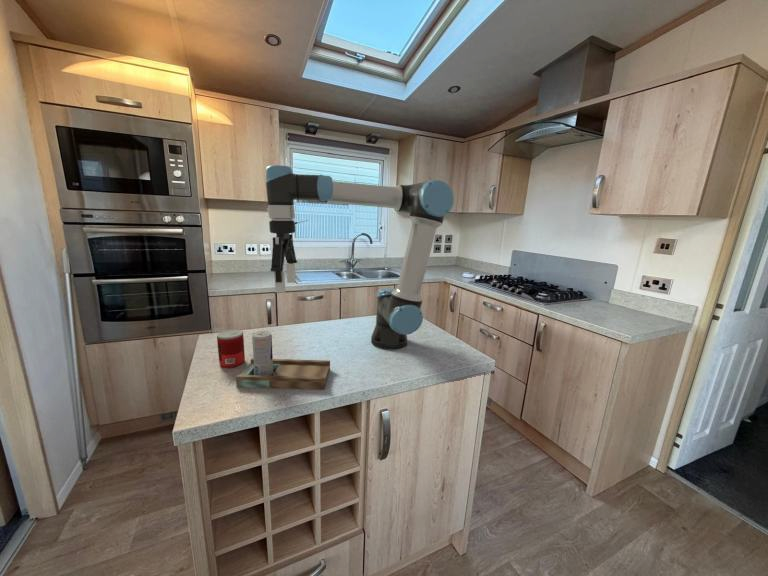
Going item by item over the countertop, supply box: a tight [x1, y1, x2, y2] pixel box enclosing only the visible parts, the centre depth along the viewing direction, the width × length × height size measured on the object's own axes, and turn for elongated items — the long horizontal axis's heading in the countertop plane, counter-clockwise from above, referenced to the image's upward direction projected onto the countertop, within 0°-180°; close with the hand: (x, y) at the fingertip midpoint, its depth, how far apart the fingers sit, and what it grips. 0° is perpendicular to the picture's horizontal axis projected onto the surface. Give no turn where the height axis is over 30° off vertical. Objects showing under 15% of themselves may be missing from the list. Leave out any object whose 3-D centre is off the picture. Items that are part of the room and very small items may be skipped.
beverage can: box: [251, 330, 274, 376], centre depth 96 cm, size 6×6×15 cm
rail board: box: [235, 357, 331, 391], centre depth 98 cm, size 26×12×4 cm, turn 91°
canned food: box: [216, 328, 246, 369], centre depth 105 cm, size 8×8×11 cm
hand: (286, 287), depth 99 cm, fingers open, 13 cm apart
